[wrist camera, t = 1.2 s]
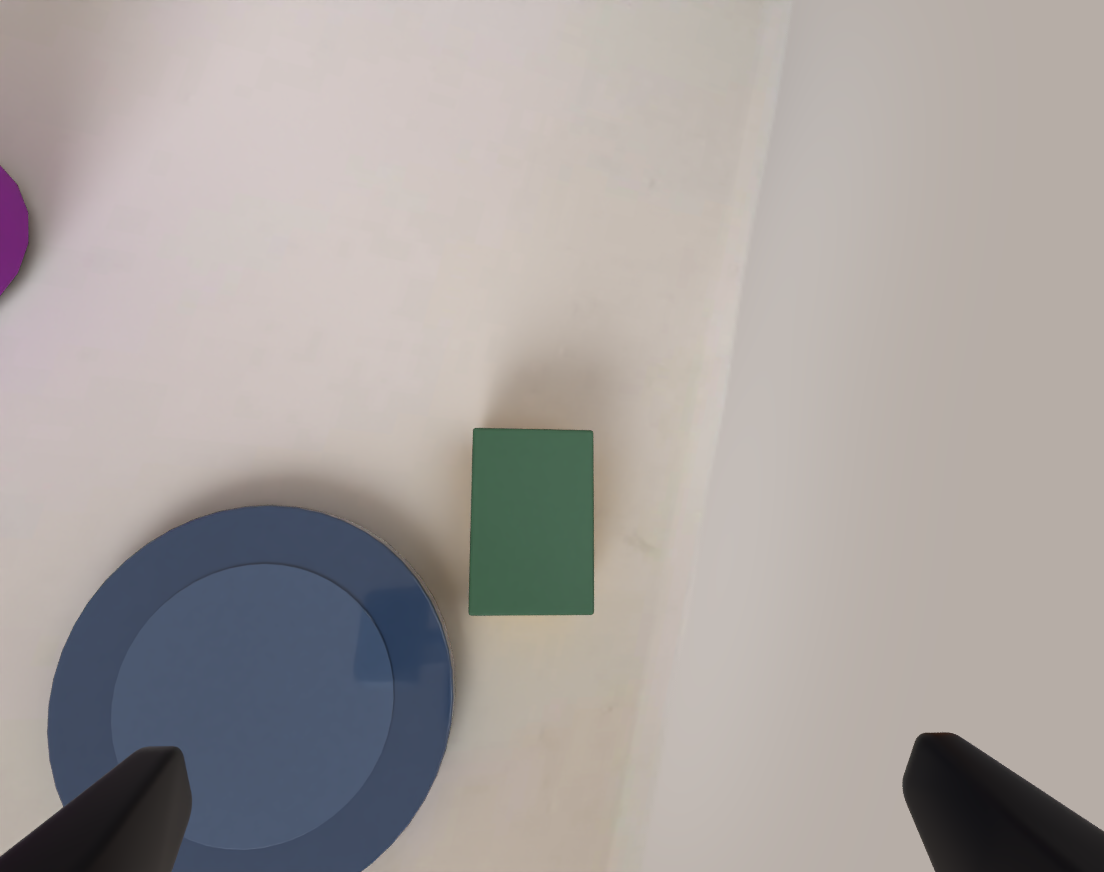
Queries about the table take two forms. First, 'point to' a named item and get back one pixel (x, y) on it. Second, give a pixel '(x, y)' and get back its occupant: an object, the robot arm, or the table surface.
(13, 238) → the beverage can
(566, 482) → the sponge
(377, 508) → the table surface
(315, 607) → the plate
